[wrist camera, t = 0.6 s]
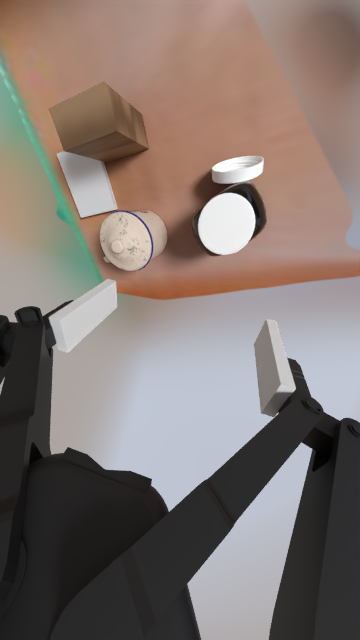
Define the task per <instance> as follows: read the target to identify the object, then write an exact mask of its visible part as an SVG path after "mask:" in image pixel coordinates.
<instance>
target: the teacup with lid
mask: <svg viewBox="0 0 360 640" xmlns="http://www.w3.org/2000/svg"><path fill="white" fill-rule="evenodd" d="M100 243H101V246H102V249H103V251H104V253H105V256H104V260H105V262H106V263H109V262H112V263H113V264H114V265H115V266H117V267H118V268H120V269H123V270H126V271H137V270H140V269H142V268H144V267H145V266H146V265H147V264H148V263H149V262H150V261H151V260H152V259H154V258H155V257H157V256H158V255H159V254H161V253H162V251H163V250H164V248H165V246H166V243H167V231H166V227H165V225H164V223H163V221H162V220H161V219H160V217H159V216H158V215H156V214H155V213H153V212H151V211H148V210H137V211H129V212H128V211H116V212H113V213H111V214H110V215H108V216H107V217H106V219H105V220H104V221H103V223H102V226H101V229H100Z"/></svg>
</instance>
